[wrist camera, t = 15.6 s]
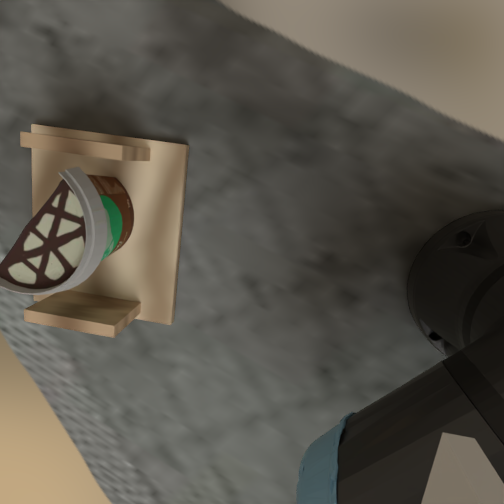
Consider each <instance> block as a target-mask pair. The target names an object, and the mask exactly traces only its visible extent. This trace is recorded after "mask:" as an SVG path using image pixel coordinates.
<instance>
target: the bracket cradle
mask: <svg viewBox="0 0 504 504" xmlns="http://www.w3.org/2000/svg"><path fill="white" fill-rule="evenodd" d="M20 134H21V146H22V147H29V148H32V212H33V217H34V216H35V215H36V214H37V212H38V211H39V210H40V209H41V208H42V206H43V205H44V204H45V203H46V202H47V200H48V199H49V198H50V196H51V195H52V194H53V192H54V191H55V190H56V188H57V187H58V185H59V183H60V181H61V180H62V179H63V178H62V177H61V176H60V174H59V173H58V172H65V170H66V169H70V168H75V167H79V168H80V169H81V170H82V171H83V172H84V173H85V174H90V175H99V176H108V177H116V178H117V179H118V180H119V181H120V182H121V183H122V185H123V186H124V187H125V189H126V190H127V192H128V194H129V196H130V199H131V201H132V204H133V209H134V226H133V230H132V233H131V235H130V237H129V239H128V240H127V242H126V243H125V244H124V245H123V246H122V247H121V248H120V249H119V250H117V251H115V252H114V253H112V254H111V255H109V256H108V257H106V258H105V259H103V260H102V261H100V263H99V265H98V266H97V268H96V269H95V271H94V272H93V273H92V274H91V275H90V276H89V277H88V278H87V279H86V280H85V281H84V282H82V283H81V284H79V285H78V286H75V287H73V288H71V289H69V290H65V291H61V292H56V293H51V294H44V295H34V301H39V302H37V303H35V304H34V305H32V306H30V307H28V308H26V309H24V321H27V322H32V323H38V324H43V325H48V326H54V327H59V328H65V329H70V330H75V331H81V332H86V333H91V334H97V335H102V336H108V337H113V338H114V337H115V336H116V335H117V334H118V333H120V332H121V331H122V330H123V329H124V328H125V327H126V326H127V325H128V324H129V323H130V322H131V321H132V320H133V319H140V320H146V321H151V322H157V323H162V324H168V325H171V324H172V323H173V322H174V314H175V303H176V291H177V280H178V268H179V257H180V245H181V234H182V222H183V211H184V199H185V188H186V176H187V165H188V153H189V145H183V144H176V143H168V142H161V141H154V140H146V139H139V138H132V137H124V136H117V135H109V134H102V133H95V132H87V131H80V130H73V129H65V128H58V127H50V126H43V125H36V124H31V133H28V132H20Z"/></svg>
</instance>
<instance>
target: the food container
mask: <svg viewBox="0 0 504 504" xmlns="http://www.w3.org/2000/svg"><path fill="white" fill-rule="evenodd" d="M58 173H59V174H60V176H61V177H62V178H63V179H62V180H61V181H60V183H59V185H58V187H57V188H56V190H55V191H54V192H53V194H52V195H51V196H50V198H49V199H48V200H47V202H46V203H45V204H44V205H43V206H42V208H41V209H40V210H39V211H38V212H37V214H36V215H35V216H34V217H33V218H32V219H31V221H30V222H29V223H28V224H27V225H26V227H25V228H24V230H23V231H22V233H21V234H20V236H19V238H18V239H17V241H16V243H15V244H14V246H13V247H12V249H11V250H10V251H9V253H8V254H7V256H6V257H5V258H4V260H3V261H2V262H1V264H0V287H2V288H4V289H7V290H9V291H12V292H16V293H20V294H31V295H44V294H51V293H56V292H61V291H65V290H69V289H71V288H73V287H75V286H78V285H79V284H81V283H82V282H84V281H85V280H86V279H87V278H88V277H89V276H90V275H91V274H92V273H93V272H94V271H95V269H96V268H97V266H98V265H99V263H100V261H102V260H103V259H105V258H106V257H108V256H109V255H111V254H112V253H114V252H115V251H117V250H119V249H120V248H121V247H122V246H123V245H124V244H125V243H126V242H127V240H128V239H129V237H130V235H131V233H132V230H133V226H134V209H133V204H132V201H131V199H130V196H129V194H128V192H127V190H126V189H125V187H124V186H123V185H122V183H121V182H120V181H119V180H118V179H117V178H116V177H108V176H99V175H90V174H85V173H84V172H83V171H82V170H81V169H80V168H79V167H75V168H70V169H66V170H65V172H58Z"/></svg>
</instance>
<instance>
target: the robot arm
mask: <svg viewBox="0 0 504 504" xmlns="http://www.w3.org/2000/svg"><path fill="white" fill-rule="evenodd" d="M407 296H408V303H409V308H410V311H411V314H412V317H413V319H414V321H415V322H416V324H417V326H418V327H419V329H420V330H421V331H422V333H423V334H424V335H425V337H426V338H427V339H428V340H429V342H430V343H431V344H432V345H433V346H434V347H435V348H437V349H438V350H439V351H440V352H442V353H443V354H444V355H446V356H448V358H447V359H445V360H443V362H442V361H441V362H439V363H437V364H436V365H434V366H433V367H431V368H429V369H428V370H426V371H425V372H423V373H422V374H420V375H418V376H417V377H415V378H414V379H412V380H410V381H409V382H407V383H406V384H404V385H402V386H401V387H399V388H397V389H396V390H394V391H392V392H391V393H389V394H387V395H386V396H384V397H382V398H381V399H379V400H377V401H376V402H374V403H372V404H371V405H369V406H367V407H366V408H364V409H362V410H361V411H359V412H357V413H352V412H351V413H349V414H348V415H346V416H344V418H343V419H342V420H341V422H340V424H338V425H337V426H335V427H334V428H332V429H331V430H330V431H328V432H327V433H325V434H324V435H322V436H321V437H319V438H318V439H317V440H315V441H314V442H313V443H312V444H311V445H310V446H309V448H308V449H307V451H306V452H305V454H304V456H303V458H302V461H301V465H300V469H299V481H298V484H297V497H296V500H297V504H504V210H494V211H484V212H479V213H475V214H471V215H468V216H465V217H463V218H460V219H458V220H456V221H454V222H452V223H450V224H449V225H447V226H445V227H444V228H443V229H441V230H440V231H438V232H437V233H436V234H435V235H434V236H433V237H432V238H431V239H430V240H429V241H428V242H427V243H426V244H425V245H424V247H423V248H422V249H421V251H420V252H419V254H418V255H417V257H416V259H415V261H414V263H413V266H412V268H411V271H410V275H409V279H408V287H407Z"/></svg>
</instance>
